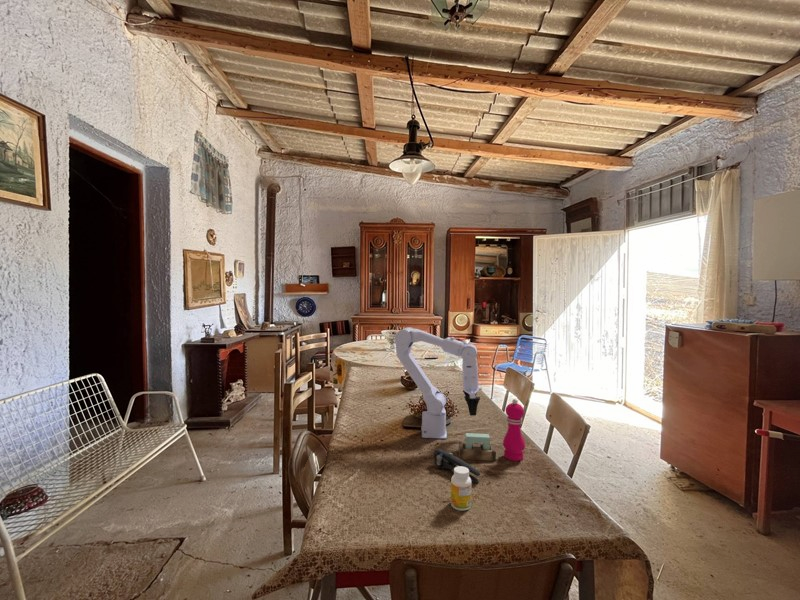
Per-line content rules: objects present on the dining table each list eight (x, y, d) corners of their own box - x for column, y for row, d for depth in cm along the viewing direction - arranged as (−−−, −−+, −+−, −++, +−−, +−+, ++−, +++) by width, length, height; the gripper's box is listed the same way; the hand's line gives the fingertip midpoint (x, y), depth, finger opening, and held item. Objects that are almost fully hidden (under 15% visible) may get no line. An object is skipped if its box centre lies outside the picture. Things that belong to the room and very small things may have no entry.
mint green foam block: (465, 456, 128) (466, 436, 128) (465, 452, 131) (465, 432, 131) (489, 457, 127) (489, 437, 127) (488, 453, 130) (488, 434, 130)
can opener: (428, 465, 122) (428, 448, 122) (443, 459, 127) (443, 443, 126) (471, 489, 109) (471, 470, 108) (486, 481, 113) (486, 462, 113)
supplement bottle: (448, 499, 103) (449, 465, 102) (468, 498, 103) (468, 464, 103) (453, 511, 97) (453, 475, 97) (473, 510, 98) (474, 474, 97)
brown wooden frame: (459, 458, 127) (459, 449, 126) (458, 450, 133) (458, 441, 133) (495, 460, 125) (495, 451, 125) (493, 452, 132) (493, 443, 132)
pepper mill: (524, 453, 131) (526, 397, 130) (524, 463, 124) (526, 403, 123) (503, 450, 133) (504, 395, 132) (502, 459, 126) (503, 401, 125)
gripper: (483, 380, 134) (485, 418, 135) (479, 371, 149) (480, 405, 149) (463, 381, 135) (465, 418, 136) (461, 372, 150) (462, 405, 150)
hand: (472, 411), depth 142 cm, fingers open, 7 cm apart
